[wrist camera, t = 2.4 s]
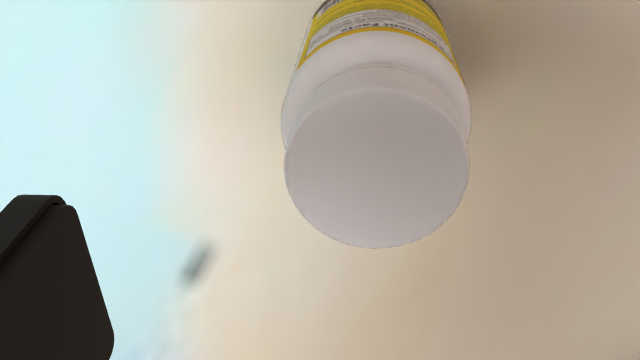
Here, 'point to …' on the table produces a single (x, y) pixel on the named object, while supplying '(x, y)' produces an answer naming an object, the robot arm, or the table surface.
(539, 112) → the table surface
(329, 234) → the supplement bottle
